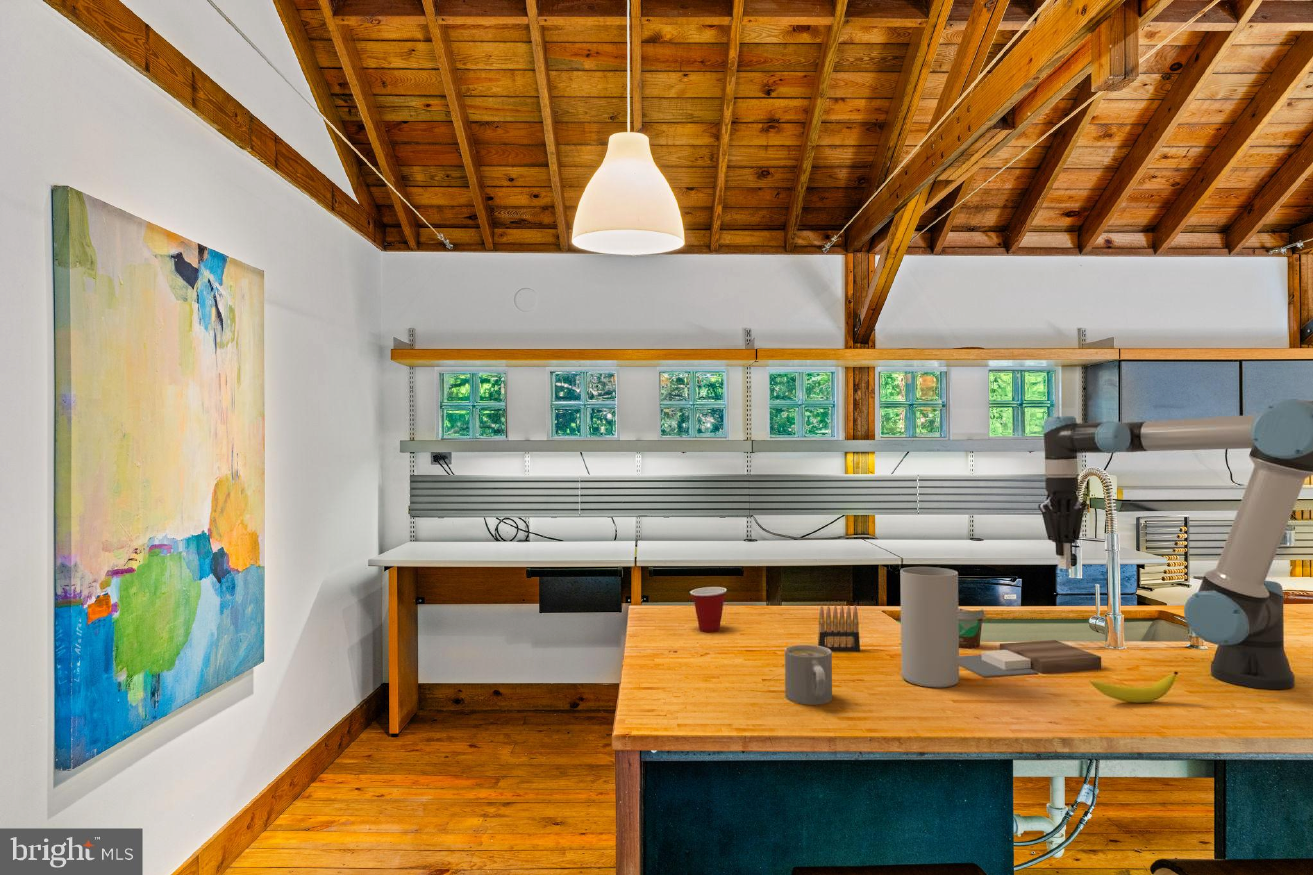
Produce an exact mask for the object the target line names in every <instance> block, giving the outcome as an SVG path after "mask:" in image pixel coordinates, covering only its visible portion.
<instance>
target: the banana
mask: <svg viewBox="0 0 1313 875" xmlns="http://www.w3.org/2000/svg"><path fill="white" fill-rule="evenodd" d="M1178 674H1179V671H1174V673H1171V674H1168V675H1166V676H1165V677H1163V678H1161V679H1160V680H1158V681H1157V682H1155V683H1153V684H1151V685H1149V686H1141V687H1140V686H1135V687H1134V686H1122V685H1116V684H1112V683H1106V682H1103V681H1098V680H1089V683H1090V684H1091V685H1092V687H1093V688H1094V689H1096V690H1097V691H1098V692H1100V693H1101V694H1103V695H1104V696H1106V697H1109V698H1111V699H1114V700H1118V701H1123V702H1128V703H1132V704H1135V703H1136V704H1137V703H1138V704H1140V703H1143V704H1144V703H1150V702H1155V701H1157V700H1159V699H1161V698H1162V697H1164V696H1165V695H1166V694H1167V693H1168V692H1169V691H1170V690H1171V688H1172V686H1173V684H1174V683H1175V680H1176V676H1177V675H1178Z"/></svg>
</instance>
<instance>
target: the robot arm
mask: <svg viewBox="0 0 1313 875" xmlns="http://www.w3.org/2000/svg"><path fill="white" fill-rule="evenodd" d="M1042 435H1043V443H1044V444H1043V445H1044V474H1045V475H1046V476H1047V477H1045V480H1044V481H1045V482H1044V483H1045V484H1044V485H1045V491H1046V492H1047V495H1046V497H1045V501H1044V502H1043V503H1038V505H1037V507H1038V510H1039V511H1040V512H1041V516H1042V520H1043V522H1044V527H1045V532H1046V536H1047V539H1048V541H1051V542H1052V543H1055V555H1056V556H1057V566H1058V567H1057V568H1059V569H1062V570H1063V569H1064V570H1072V563H1071V562H1072V560H1071V559H1072V557H1071V556H1072V555H1073V544H1075V543H1076V541H1078V540H1080V536H1081V530H1082V524H1083V518H1084V512H1085V510H1086V508H1087V503H1086V502H1082V501H1080V500H1079V496H1078V494H1077V492H1078V491H1079V478H1078V477H1076V476H1078V474H1079V468H1078V466H1079V464H1078V454H1083V453H1085V454H1089V453H1091V454H1092V453H1093V454H1099V453H1100V454H1101V453H1103V454H1104V453H1106V454H1115V453H1116V454H1117V453H1137V452H1138V453H1140V452H1141V453H1142V452H1144V453H1145V452H1166V451H1168V452H1170V451H1171V452H1172V451H1198V450H1199V451H1201V450H1203V451H1204V450H1205V451H1206V450H1208V451H1209V450H1234V449H1235V450H1239V449H1242V450H1243V449H1251V450H1250V452H1249V455H1248V457H1249V459H1250V461H1251V462H1252V463H1253V465H1254V466H1253V469H1252V472H1251V474H1250V477H1249V479H1248V481H1247V484H1246V488H1245V490H1244V493H1243V496H1242V498H1241V500H1240V504H1239V506H1238V509H1237V511H1236V514H1235V517H1234V520H1233V522H1232V524H1231V528H1230V530H1229V533H1228V536H1227V538H1226V542H1225V543H1224V545H1223V546H1224V547H1223V549H1222V552H1221V554H1220V556H1219V559H1218V561H1217V564H1216V567H1215V568H1214V569H1212V570H1208V571H1206V572H1205V573H1204V575H1203V578H1202V580H1201V583H1200V586H1199V587H1198V588H1199V589H1198V591H1197V592H1194V593H1193V594H1192V595H1191V596H1189V598H1188V599H1187V600H1186V602H1185V605H1184V608H1183V614H1184V616H1183V617H1184V619H1185V621H1186V622H1185V623H1186V624H1187V625H1188V627H1189V628H1190V630H1191V632H1192V633H1193V634H1195V635H1196V636H1197V637H1198V638H1200V640H1203V641H1205V642H1207V643H1210V644H1213V645H1217V648H1216V650H1215V653H1214V657H1213V660H1212V661H1211V663H1210V675H1211V676H1212V677H1214V678H1215V679H1218V680H1220V681H1223V682H1226V683H1230V684H1234V685H1237V686H1243V687H1248V688H1254V689H1263V690H1264V689H1265V690H1289V689H1292V688H1294V687H1295V684H1296V681H1295V674H1294V672H1293V671H1292V669H1291V666H1290V663H1289V660H1288V657H1287V654H1286V651H1285V645H1284V644H1285V643H1284V642H1285V640H1284V639H1285V638H1284V636H1285V635H1284V634H1285V632H1284V631H1285V630H1284V628H1285V627H1284V623H1285V622H1284V600H1285V595H1284V589H1283V586H1282V584H1281V583H1280V582H1276V581H1273V580H1266V579H1267V577H1268V574H1269V572H1270V569H1271V567H1272V564H1273V561H1274V559H1275V556H1276V554H1277V552H1278V549H1279V546H1280V544H1281V542H1282V538H1283V536H1284V534H1285V531H1286V529H1287V526H1288V524H1289V520H1290V519H1291V516H1292V514H1293V511H1294V508H1295V507H1296V506H1295V505H1296V503H1297V501H1298V499H1299V496H1300V493H1301V490H1302V488H1303V485H1304V483H1305V480H1306V479H1308V478H1309V477H1312V476H1313V400H1305V399H1296V398H1294V399H1292V398H1291V399H1286V400H1280V401H1277V402H1275V403H1272V404H1269V405H1267V406H1265V407H1264V408H1263V409H1261V410H1260V411H1259V412H1258V413H1257V414H1249V415H1231V416H1215V417H1200V418H1184V419H1183V418H1182V419H1168V420H1167V419H1165V420H1164V419H1163V420H1152V421H1151V420H1150V421H1131V422H1130V421H1129V422H1122V421H1099V422H1087V423H1086V422H1085V423H1084V422H1083V423H1081V422H1078V421H1077V418H1076V417H1075V416H1074V415H1073V416H1071V415H1066V416H1065V415H1064V416H1049V417H1046V418H1045V419H1044V420H1043V434H1042Z"/></svg>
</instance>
